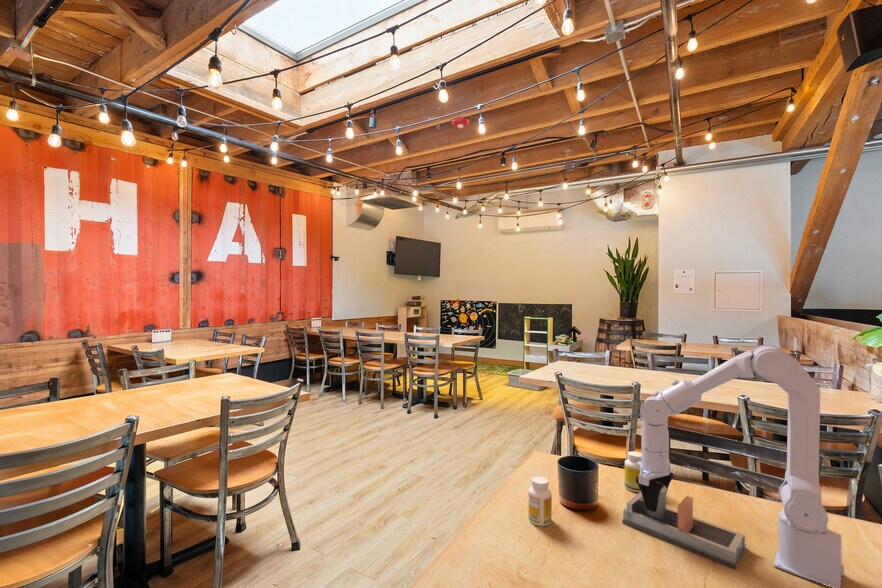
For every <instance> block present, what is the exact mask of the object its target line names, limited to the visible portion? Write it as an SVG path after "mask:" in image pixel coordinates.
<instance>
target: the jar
mask: <svg viewBox="0 0 882 588" xmlns="http://www.w3.org/2000/svg"><path fill="white" fill-rule="evenodd" d="M657 483H659V482H657ZM660 484H661V483H660ZM666 491H667V492H668V490H667V488H666V486H665V485H664V486H663V487H662V489H661V491H660V494H659V498H658V505H657V510H656V512H653V511H650V510H647V509H646V508H645V504H644V512H645V513H646V514H647V515H648V516H651V517H654V518H659V519H661V518H665V517H666V507H667V494H666Z"/></svg>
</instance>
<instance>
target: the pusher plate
mask: <svg viewBox="0 0 882 588" xmlns="http://www.w3.org/2000/svg"><path fill="white" fill-rule="evenodd" d="M693 500H694V498H693V497H691V496H689V495H686V496H685V497H684V498H683V499H682V500H681V502H680V503H679V504H677V511H678V529H681V530H683V531H686V532H688V533H689V532H690V530H691V529H692V528H693V517H694V516H693V515H694V513H693V512H694V506H693V502H694V501H693Z"/></svg>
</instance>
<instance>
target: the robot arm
mask: <svg viewBox="0 0 882 588" xmlns="http://www.w3.org/2000/svg"><path fill="white" fill-rule="evenodd" d="M754 373H756V374H757V375H758V376H760V377H762V378H763V379H765V380H767V381H769V382H772V383H774V384H776V385H777V386H778V387H779V388H781V389H782V390H783V391H784V392H785V393H787V396H788V397H787V433H786V434H787V438H786V439H787V441H786V444H787V448H786V470H785V473H784V480H783V482H782V484H781V485H780V486H779V488H778V496H779V499H780V501H781V502H782V505H783V508H782V509H781V510H780V511H779V512H778V515H777V517H778V523H777V524H778V550H777V552H776V555H775V558H774V560H773V566H774V567H776V568H778V569H780V570H783V571H785V572H787V573H791V574H793V575H796V576H799V577H801V578H803V577H804V579H806V578H807V580H809V579H810V580H809V581H811V580H813V581H812V582H814V581H816V582H815V583H817V582H819V583H821V584H820V585H822V584H825V585H828V586H830V587H834V588H841V587H840V586H842V577H844V576H845V566H844V565H843V563H842V562H843V559H842V558H843V552H842V548H843V547H842V546H843V545H842V544H843V542H842V534H840V533H838V532H835V531H833V530H831V529H829V528H828V527H827V526H828V523H829V515H828V512H827V511H826V509H825V507H824V506H823V502H822V501H823V499H822V492H821V491H822V490H821V487H820V485H821V484H820V480H819V477H820V476H819V475H820V473H819V472H820V436H821V435H820V428H821V426H820V424H821V422H820V421H821V390H820V387H819V385H818V384H817V383H816V381H815V380H814V379H813V378H812V376H811V375H810V374H809V373H808V372H807V371H806V369H805V368H804V367H803V366H802V364H801V363H800V362H799V361H798V360H797V359H795V358H794V357H793V356H792V355H791V354H789V353H787V352H786V351H784V350H783V349H782V348H780V347H778V346H775V345H772V344H762V345H761V344H760V345H758V346H756V347H755V348H754V349H752V350H747V351H745V352H742V353H740V354H737V355H736V356H734V357H731V358H730V359H727V360H726V361H724V362H723V363H721V364H720V365H718V366H716V367H715V368H713V369H710V370H709V371H707V372H706V373H704V374H702V375H701V376H699V377H697V378H696V379H694V380H688V379H681V380H678V379H675V380H673V381H672V382H671V385H670V386H668V387H666V388H665V389H663V390H661V391H660V392H659V391H656V392H654V393H653V395H652V396H648V397H647V398H646V399H645V400H644V401H643V403H642V404H641V405H640V407H639V408H640V409H639V414H640V417H641V418H642V419H641V424H642V425H641V445H640V446H641V454H642V462H641V461H639V462H637V463H636V466H638V467H640V468H641V469H640V474H639V475H638V476H637V477H636V483H637V484H638V486H639V488H640V490H641V493H642V496H643V500H644V504H645V508H646V509H647V510H650V511H653V512H656V510H657V505H658V498H659V494H660V491H661V489H662V487H663V486H664V485H665V486H666V488H667V491H666V495H667V493H668V490H669V486H670V484H671V482H672V480H673V479H674V477H675V475H674V473H673V472H670V471H671V470H670V468H671V467H670V466H671V460H670V458H669V457H670V452H669V451H670V448H669V447H670V446H669V445H670V440H669V439H670V436H669V435H670V434H669V433H670V431H669V429H668V427H669V426H668V425H669V424H668V422H669V421H668V420H669V416H676V415H678V414H680V413H682V412H684V411H687V410H688V409H689V408H691V407H693V406H695V405H697V404H699V403H701V402H702V397H703V394H705V393H706V392H709V391H711V390H713V389H715V388H717V387H719V386H721V385H724V384H726V383H728V382H730V381H733V380H734V379H736V378H749V379H755V378H756V376H755V374H754ZM657 482H659V483H657ZM660 483H661V484H660ZM841 576H842V577H841ZM819 583H818V584H819ZM829 584H830V585H829ZM830 587H829V588H830Z"/></svg>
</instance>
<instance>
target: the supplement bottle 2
mask: <svg viewBox="0 0 882 588" xmlns="http://www.w3.org/2000/svg"><path fill="white" fill-rule="evenodd" d="M639 461H641V462H642V452H638V451H634V450H633V451H628V452H627V459H625V460H624V477H623V478H624V481H623V482H624V484H623V485H624V488H625V489H626V490H628V491H630V492H633V493H638V492H640V491H641V490H640V488H639V486H638V484H637V483H636V477H637V476H638V475H639V474H640V469H641V468H640V467H638V466H636V463H637V462H639Z"/></svg>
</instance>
